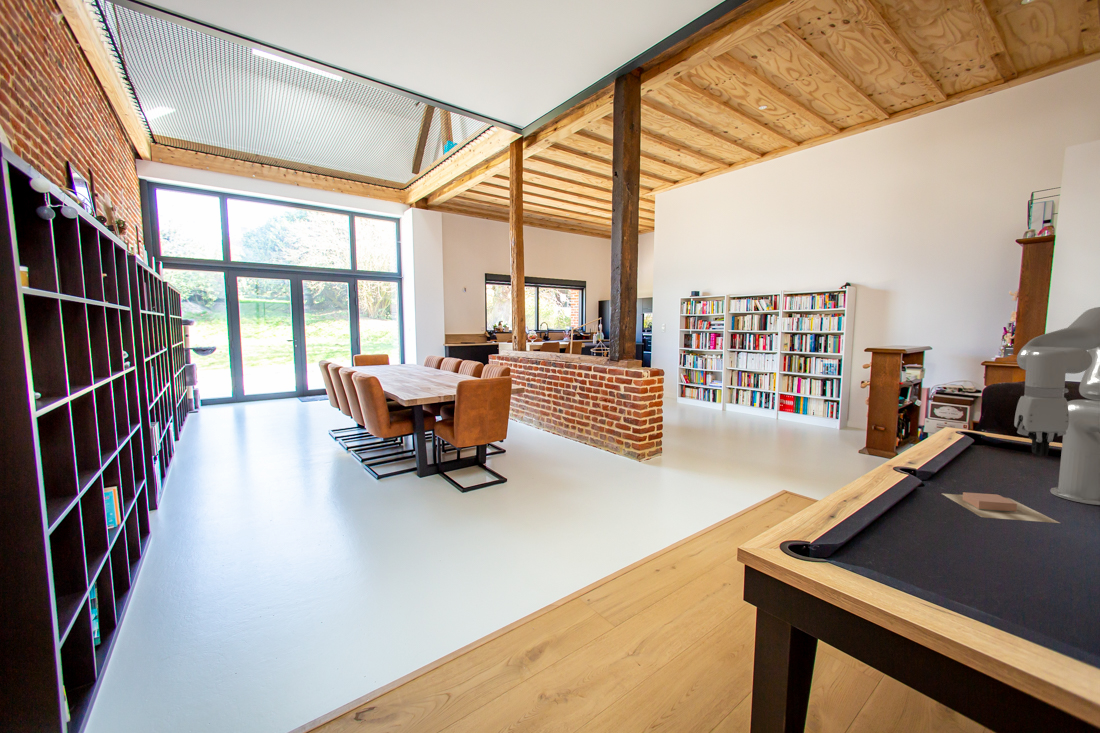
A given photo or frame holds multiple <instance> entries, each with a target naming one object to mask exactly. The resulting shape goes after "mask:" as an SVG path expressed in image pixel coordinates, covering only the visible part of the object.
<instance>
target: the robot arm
mask: <svg viewBox="0 0 1100 733" xmlns="http://www.w3.org/2000/svg"><path fill="white" fill-rule="evenodd" d="M1016 363H1017V366H1018V367H1019V368H1020V369H1022V370H1025V377H1024V378H1025V381H1024V395H1020V398H1019V399H1018V401H1017V405H1016V410H1015V415H1014V421H1013V422H1014V423H1013V425H1014V427H1015V428H1016V429H1017V431H1016V433H1017V434H1019V435H1022V436H1026V437H1027V438H1028V439H1029V440H1031V453H1032V454H1035V455H1037V456H1040V457H1041V456H1045V457H1048V456H1049V452H1050V443H1052V442H1053V440H1054V439H1056V438H1057V437H1060V436H1062V442H1061V443H1062V444H1061V454H1060V455H1061V456H1060V464H1059V465H1060V466H1059V474H1058V476H1059V477H1058V486H1055V487H1051V488H1050V493H1051V494H1052V495H1054V496H1056V497H1059V498H1062V499H1065V500H1069V501H1071V502H1077V503H1081V504H1087V505H1095V506H1100V306H1097V307H1092V308H1089V309H1087V310H1085V311H1084V312H1082V313H1081V314H1080V316H1078V317H1077V318H1076V319H1075V320H1074V321H1073V322H1071V324H1070V325H1069V326H1068V327H1066V328H1060V329H1056V330H1055V331H1050V332H1047V333H1044V334H1041V335H1039V336H1035V337H1033V338H1032V339H1030V340H1028V342H1026V343H1025V344H1024V345H1023V346H1022V347H1021V349H1020V350H1019V352H1018V353H1017V356H1016ZM1083 372H1084V373H1083ZM1080 373H1083V376H1082V378H1081V381H1080V383H1079V385H1078V392H1079V394H1080V396H1082V397H1083V398H1085V399H1072V400H1067V398H1066V397H1065V394H1067V393H1069V391H1070V390H1069V389H1068V388H1065V387H1066V386H1065V385H1066V374H1071V375H1072V374H1080Z"/></svg>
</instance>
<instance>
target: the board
mask: <svg viewBox="0 0 1100 733" xmlns="http://www.w3.org/2000/svg"><path fill="white" fill-rule="evenodd" d="M941 495H943V496H944V497H946V498H948V499H949V500H951V501H953V502H955V503H957V504H958V505H960V506H962V507H963V508H965V509H966V510H969V511H970V512H972V513H973V514H975V515H977V516H978V517H981V518H984V519H997V520H998V519H999V520H1000V519H1001V520H1010V521H1011V520H1013V521H1026V522H1037V523H1038V522H1041V523H1050V524H1052V523H1053V524H1054V523H1055V524H1061V522H1059V521H1057V520H1055V519H1053V518H1051V517H1049V516H1047V515H1045V514H1043V513H1041V512H1038V511H1037V510H1035V509H1032V508H1030V507H1028V506H1027V505H1024V504H1023V503H1020V502H1019V501H1016V500H1014V499H1012V498H1010V497H1005V498H1006V499H1008V500H1010V501H1012V502H1014V503H1016V504H1017V508H1016V512H1005V511H991V510H979V509H977V508H975V507H974V506H972V505H970V504H968V503H967V502H965V501H964V500H963V494H953V493H941Z"/></svg>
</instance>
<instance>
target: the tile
mask: <svg viewBox="0 0 1100 733" xmlns="http://www.w3.org/2000/svg"><path fill="white" fill-rule="evenodd" d="M962 495H963V500H964V501H965V502H967V503H968V504H970V505H972V506H974V507H975V508H977V509H979V510H991V511H1005V512H1016V508H1017V504H1016V503H1014V502H1012V501H1010V500H1008V499H1006V498H1007V497H1004V496H1003V495H999V494H995V493H993V494H992V493H979V492H963V491H962Z"/></svg>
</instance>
